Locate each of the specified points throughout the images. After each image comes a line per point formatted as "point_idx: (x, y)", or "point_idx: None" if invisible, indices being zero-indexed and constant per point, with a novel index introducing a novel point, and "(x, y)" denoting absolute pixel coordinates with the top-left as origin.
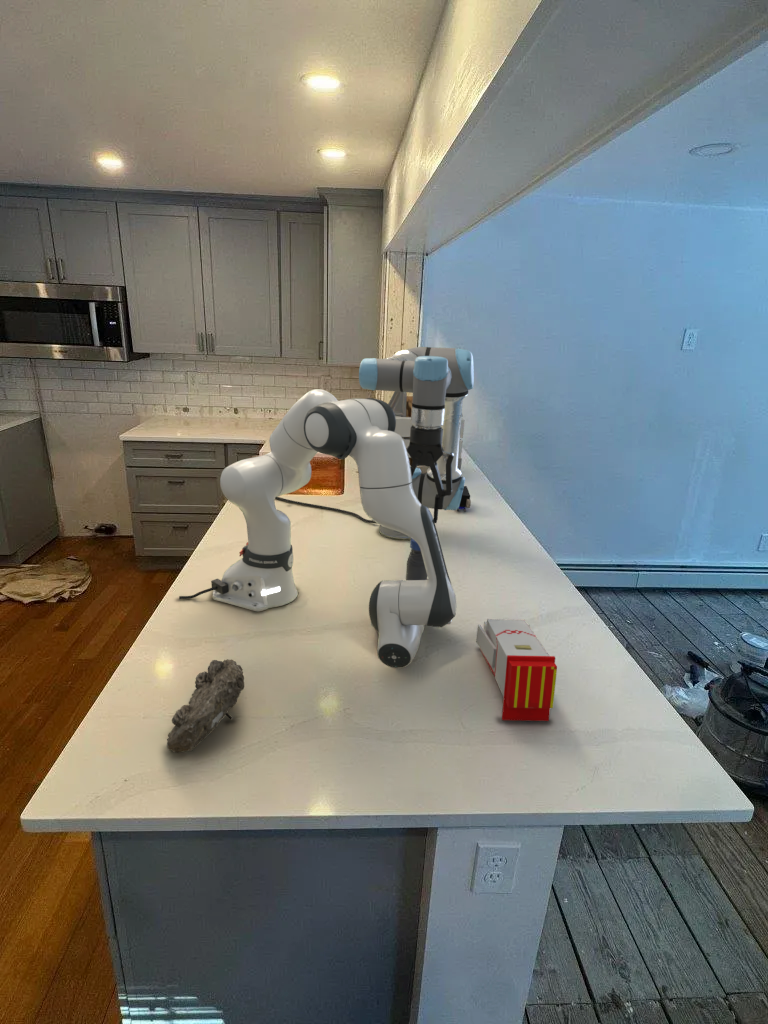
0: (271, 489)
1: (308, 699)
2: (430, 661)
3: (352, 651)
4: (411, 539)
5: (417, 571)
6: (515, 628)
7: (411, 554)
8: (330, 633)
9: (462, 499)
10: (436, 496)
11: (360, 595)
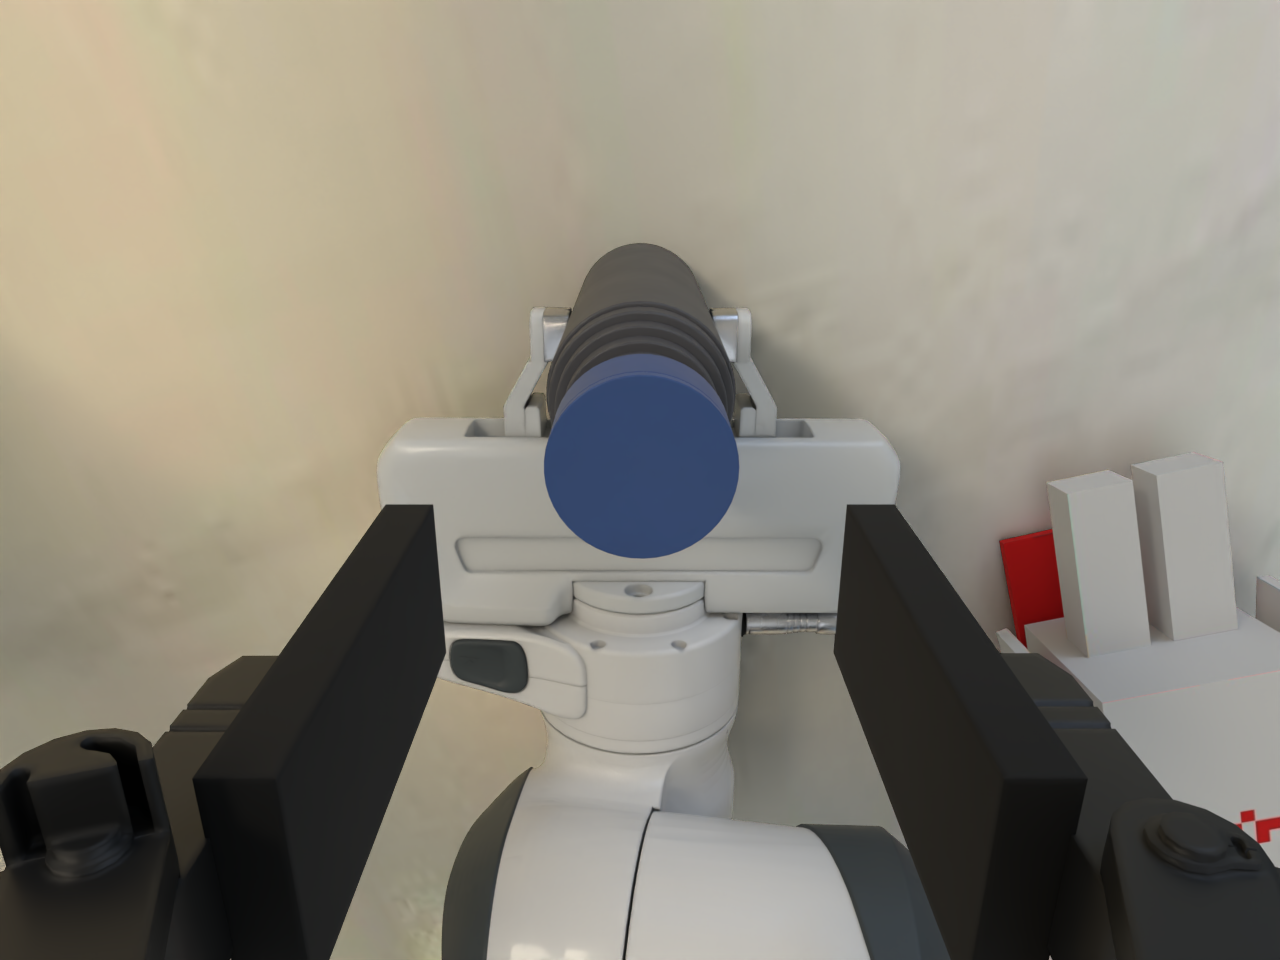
0: None
1: (380, 955)
2: (770, 674)
3: None
4: (557, 494)
5: None
6: (1247, 792)
7: None
8: (273, 586)
9: None
10: (1000, 937)
11: (257, 142)
